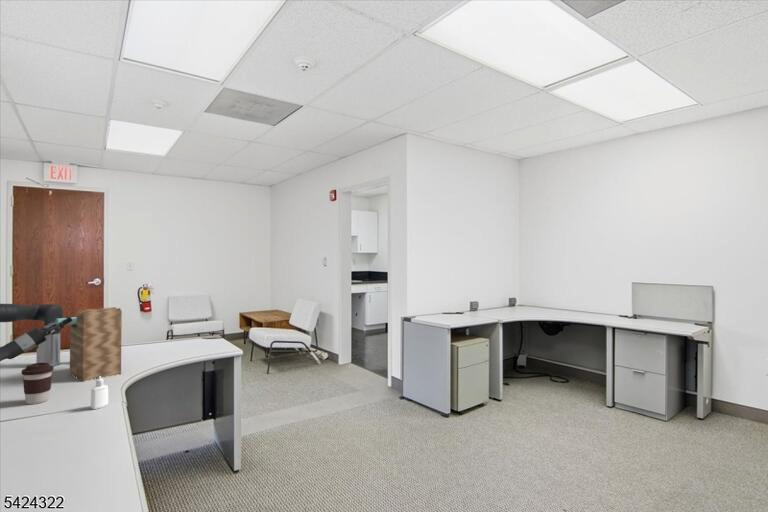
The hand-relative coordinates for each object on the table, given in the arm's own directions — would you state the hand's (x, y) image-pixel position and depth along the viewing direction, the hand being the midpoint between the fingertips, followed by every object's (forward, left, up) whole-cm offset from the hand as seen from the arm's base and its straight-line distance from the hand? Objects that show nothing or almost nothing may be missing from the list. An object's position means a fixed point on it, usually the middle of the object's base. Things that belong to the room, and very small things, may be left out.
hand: (69, 318), depth 201 cm
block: (+5, +7, -3) cm, 9 cm away
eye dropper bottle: (+46, -40, -29) cm, 68 cm away
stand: (+10, +5, -29) cm, 31 cm away
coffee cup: (+16, -35, -29) cm, 48 cm away
